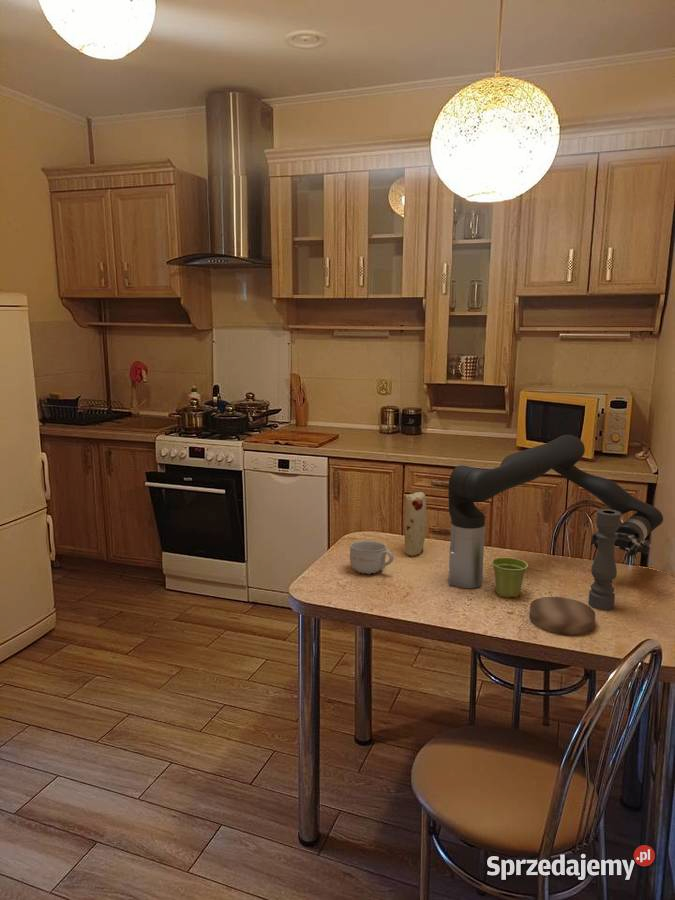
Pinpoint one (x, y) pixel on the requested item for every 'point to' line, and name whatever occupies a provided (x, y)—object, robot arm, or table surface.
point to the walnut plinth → (562, 616)
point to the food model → (415, 523)
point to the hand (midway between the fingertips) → (613, 549)
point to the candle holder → (604, 560)
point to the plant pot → (508, 575)
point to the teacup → (369, 556)
